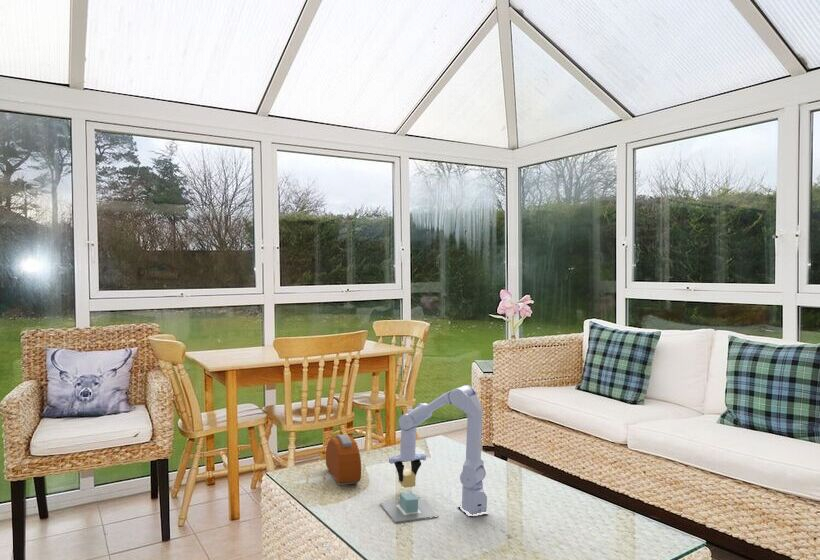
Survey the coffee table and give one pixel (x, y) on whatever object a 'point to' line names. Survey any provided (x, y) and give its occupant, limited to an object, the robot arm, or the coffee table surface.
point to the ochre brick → (408, 478)
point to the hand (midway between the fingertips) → (406, 480)
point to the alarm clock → (343, 459)
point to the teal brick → (408, 502)
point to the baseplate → (400, 516)
